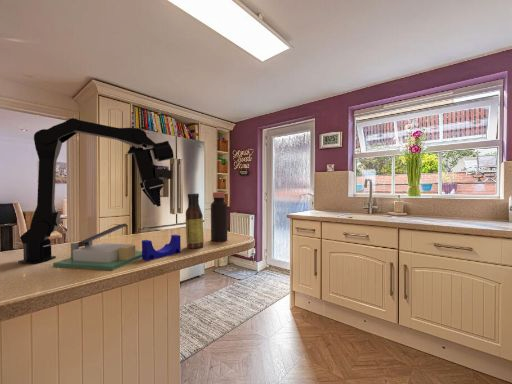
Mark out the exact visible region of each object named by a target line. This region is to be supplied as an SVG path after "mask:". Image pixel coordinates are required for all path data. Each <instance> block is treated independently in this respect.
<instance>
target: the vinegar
mask: <svg viewBox="0 0 512 384" xmlns="http://www.w3.org/2000/svg"><path fill="white" fill-rule="evenodd" d="M225 195H226V192H224V191H222V192H221V191H219V192H218V191H216V192H215V191H213V192H212V199H213V201H212V203H211V204H210V240H211V241H212V242H219V241H220V242H225V241H227V240H228V204H227V203H226V201H225V197H226V196H225Z"/></svg>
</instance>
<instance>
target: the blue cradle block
mask: <svg viewBox="0 0 512 384" xmlns="http://www.w3.org/2000/svg"><path fill="white" fill-rule="evenodd" d="M170 236H171V237H170V241H169V243H166V244H165V245H164V246H163V247H161V248H160V249H157V250H156V249H155V248H154V246H153V241H152V240H149V239H143V240H141V251H142V258H141V260H143V261H146V262H149V261H153V260H156V259H161V258H165V257H169V256H172V255H173V256H174V255H177V254H181V253H182V252H181V250H182V248H181V247H182V246H181V235H180V234H172V235H170Z"/></svg>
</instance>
